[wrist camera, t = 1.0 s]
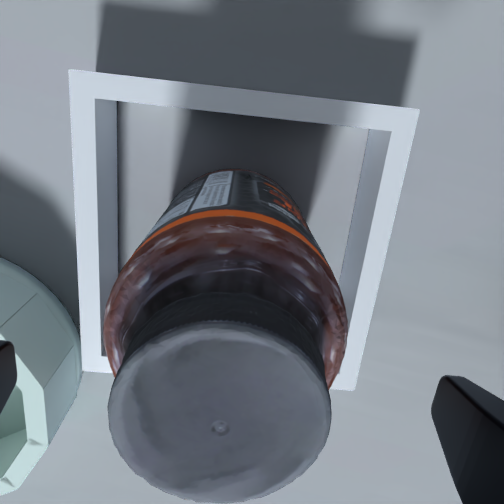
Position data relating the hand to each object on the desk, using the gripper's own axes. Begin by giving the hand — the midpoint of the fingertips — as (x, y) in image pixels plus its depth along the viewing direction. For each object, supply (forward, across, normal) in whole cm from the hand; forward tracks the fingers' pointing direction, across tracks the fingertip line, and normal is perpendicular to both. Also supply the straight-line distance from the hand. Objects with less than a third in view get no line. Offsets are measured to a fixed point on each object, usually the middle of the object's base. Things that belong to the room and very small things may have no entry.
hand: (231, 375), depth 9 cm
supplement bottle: (+10, 0, 0) cm, 10 cm away
